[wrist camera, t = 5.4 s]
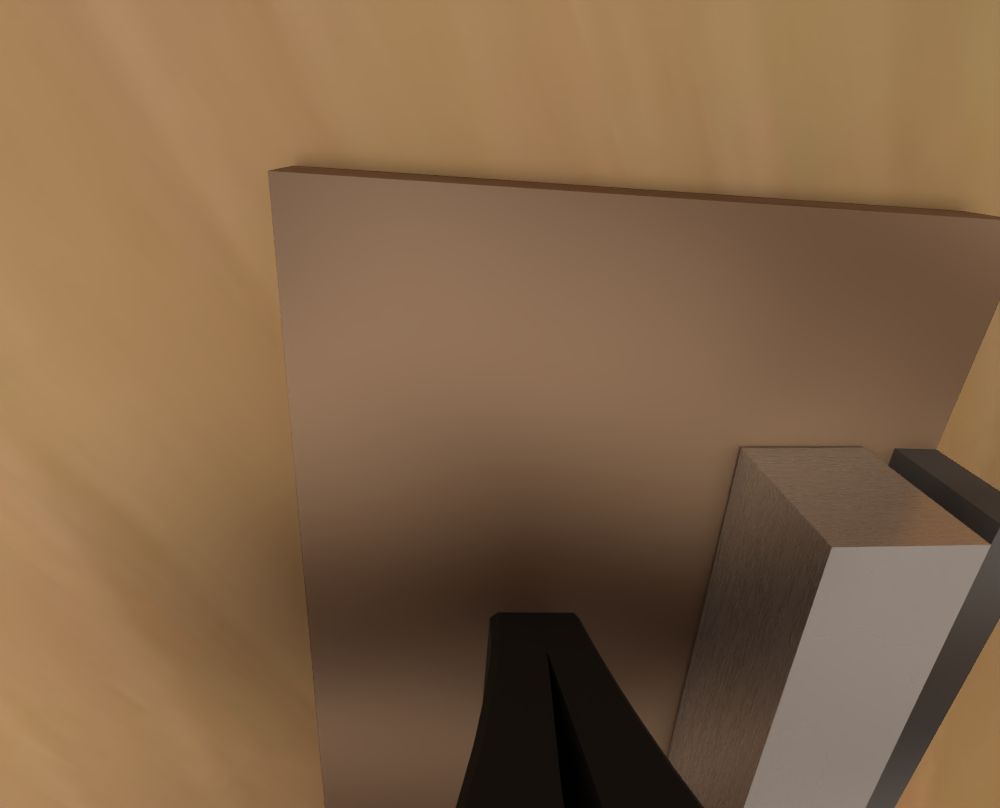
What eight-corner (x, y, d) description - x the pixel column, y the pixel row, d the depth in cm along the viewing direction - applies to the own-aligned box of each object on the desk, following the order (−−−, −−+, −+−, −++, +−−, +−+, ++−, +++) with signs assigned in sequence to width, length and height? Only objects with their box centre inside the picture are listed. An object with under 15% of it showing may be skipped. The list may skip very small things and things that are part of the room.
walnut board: (734, 815, 15) (800, 975, 12) (341, 828, 14) (312, 1005, 11) (963, 211, 9) (1206, 248, 6) (292, 165, 8) (203, 184, 5)
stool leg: (739, 816, 13) (801, 966, 11) (651, 821, 13) (696, 974, 11) (864, 447, 9) (1005, 555, 7) (740, 447, 9) (842, 558, 7)
